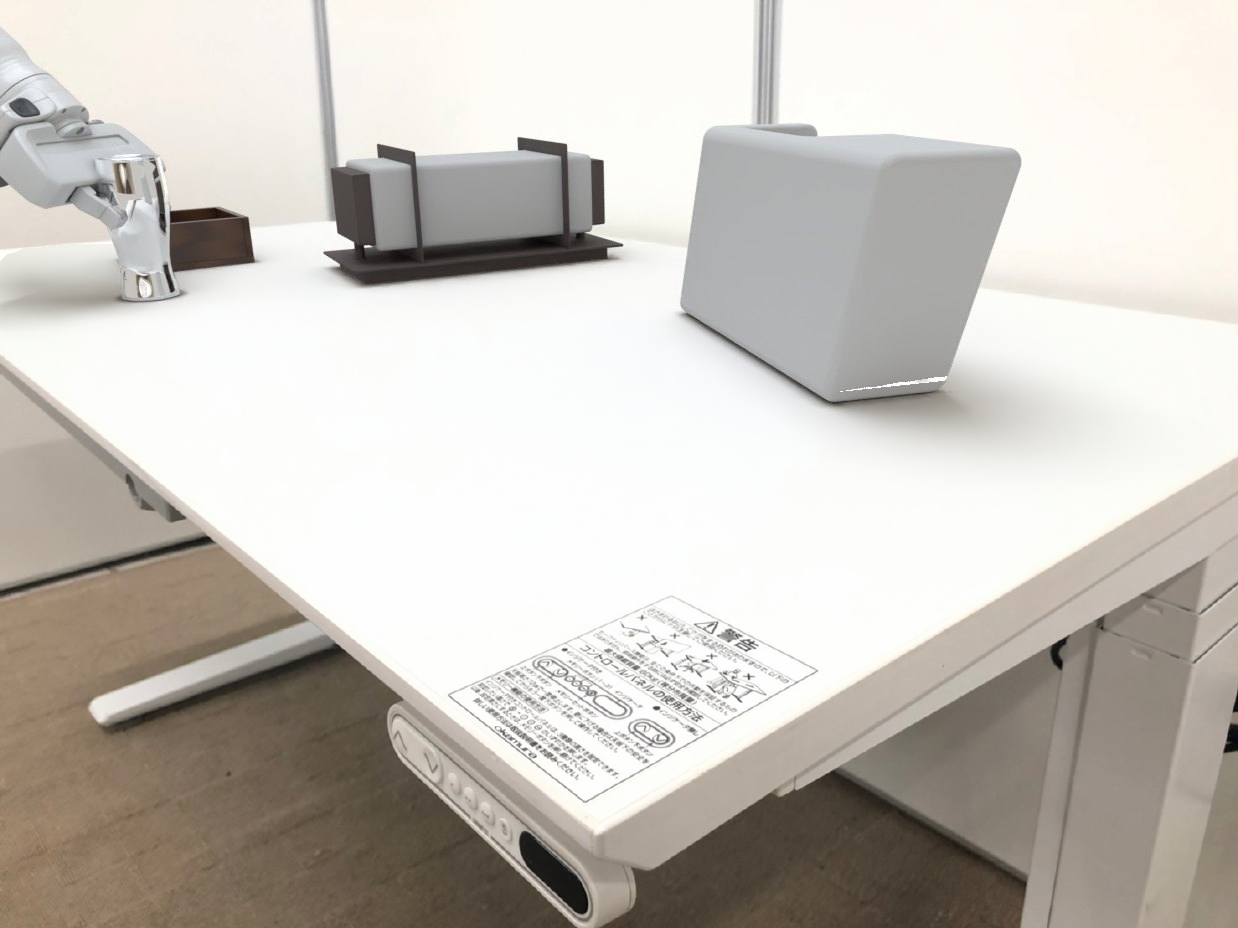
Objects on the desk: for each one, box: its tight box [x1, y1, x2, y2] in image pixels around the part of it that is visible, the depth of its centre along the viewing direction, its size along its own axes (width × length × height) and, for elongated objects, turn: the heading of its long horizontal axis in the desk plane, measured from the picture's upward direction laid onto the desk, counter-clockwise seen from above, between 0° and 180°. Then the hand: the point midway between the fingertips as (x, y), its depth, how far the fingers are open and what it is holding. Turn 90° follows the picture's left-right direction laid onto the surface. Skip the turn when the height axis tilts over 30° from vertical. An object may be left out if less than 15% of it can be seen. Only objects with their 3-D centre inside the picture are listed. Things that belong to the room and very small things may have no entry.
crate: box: [170, 206, 256, 272], centre depth 138 cm, size 14×14×6 cm
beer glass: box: [94, 154, 181, 302], centre depth 115 cm, size 7×7×15 cm
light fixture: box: [322, 136, 624, 285], centre depth 132 cm, size 15×15×35 cm
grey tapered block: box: [679, 122, 1022, 403], centre depth 87 cm, size 30×10×30 cm, turn 16°
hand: (143, 218), depth 115 cm, fingers closed on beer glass, 7 cm apart
